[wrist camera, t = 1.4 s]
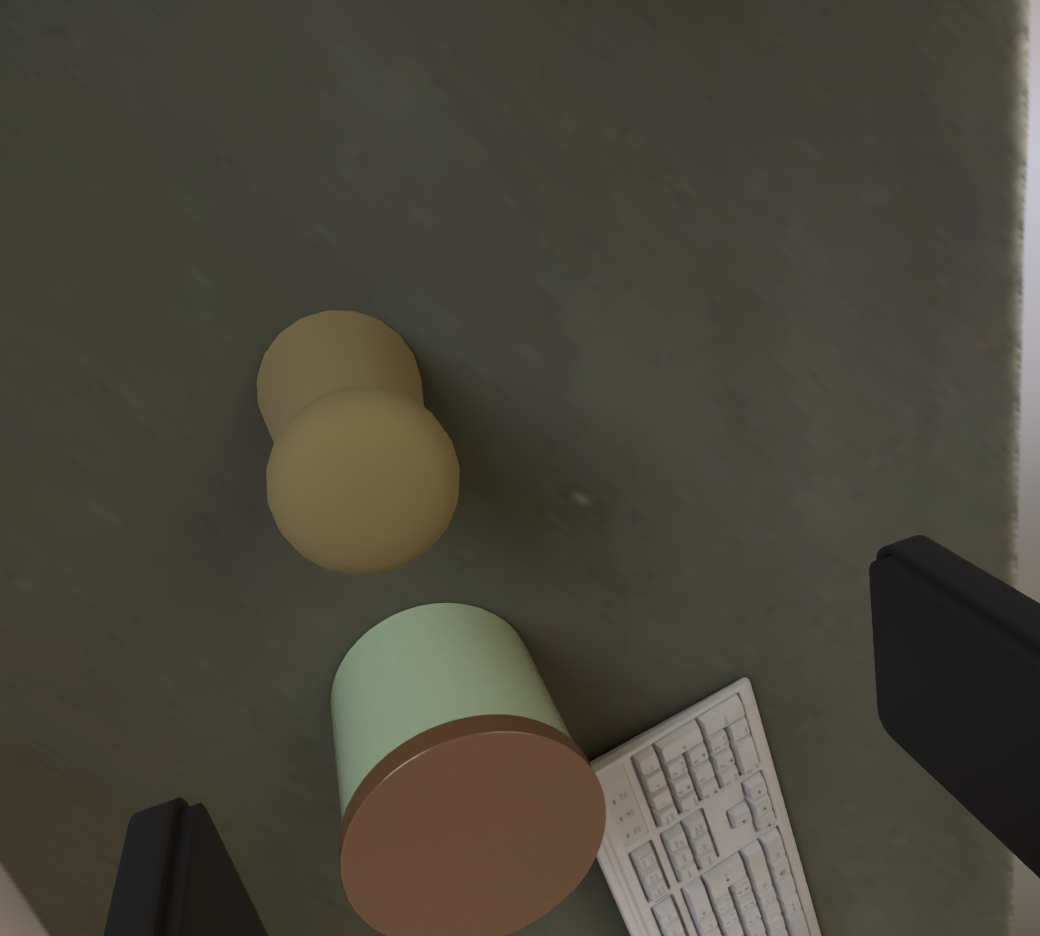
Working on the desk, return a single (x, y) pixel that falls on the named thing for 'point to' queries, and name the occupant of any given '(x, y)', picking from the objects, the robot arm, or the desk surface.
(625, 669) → the desk surface
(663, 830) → the keyboard
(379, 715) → the canister
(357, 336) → the brown tapered tall piece
